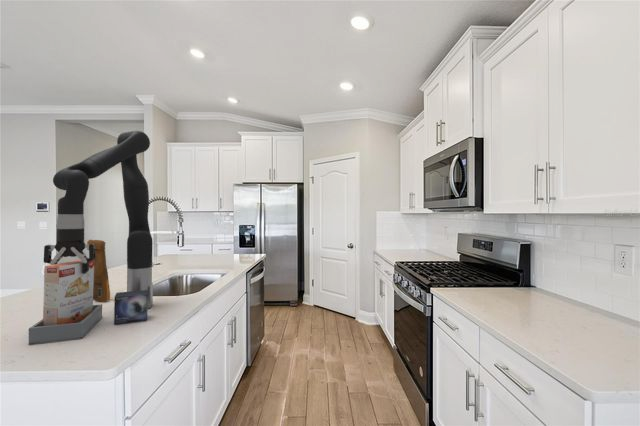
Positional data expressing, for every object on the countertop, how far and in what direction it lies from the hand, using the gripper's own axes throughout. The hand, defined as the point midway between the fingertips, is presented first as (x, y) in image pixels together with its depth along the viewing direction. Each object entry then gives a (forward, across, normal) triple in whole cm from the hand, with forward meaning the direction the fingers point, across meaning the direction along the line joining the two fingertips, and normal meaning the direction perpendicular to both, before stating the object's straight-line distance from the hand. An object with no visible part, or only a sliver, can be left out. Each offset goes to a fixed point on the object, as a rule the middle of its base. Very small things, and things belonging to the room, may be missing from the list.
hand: (70, 274), depth 107 cm
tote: (+19, 0, 0) cm, 19 cm away
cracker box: (+17, 0, 0) cm, 17 cm away
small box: (+19, -18, -3) cm, 27 cm away
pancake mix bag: (+19, +2, -40) cm, 45 cm away
